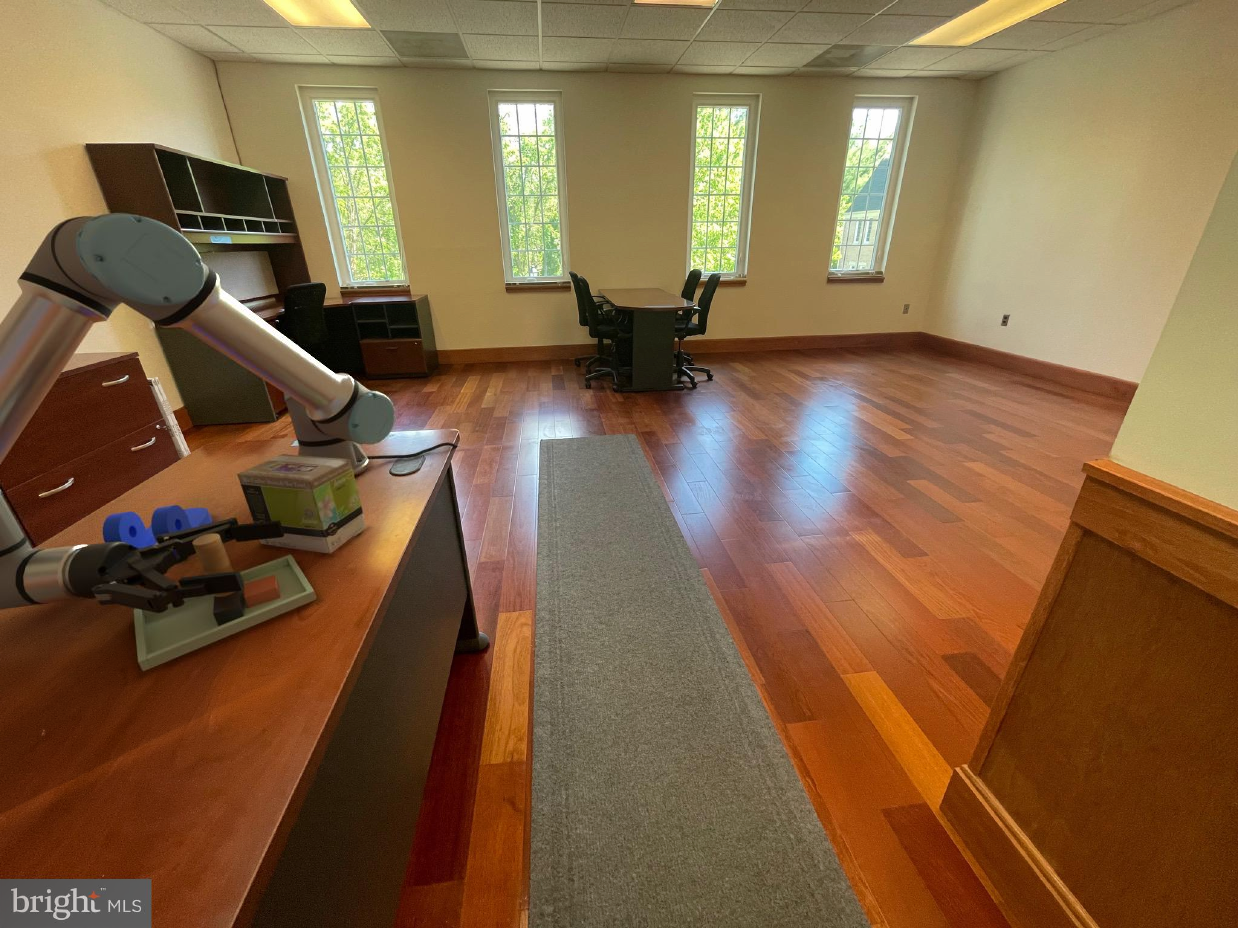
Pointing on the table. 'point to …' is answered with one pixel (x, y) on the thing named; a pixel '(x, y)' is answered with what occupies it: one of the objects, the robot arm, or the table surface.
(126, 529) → the bracket
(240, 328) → the robot arm
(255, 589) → the orange flat block
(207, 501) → the table surface
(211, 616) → the tray
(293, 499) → the tea box
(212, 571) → the brush
